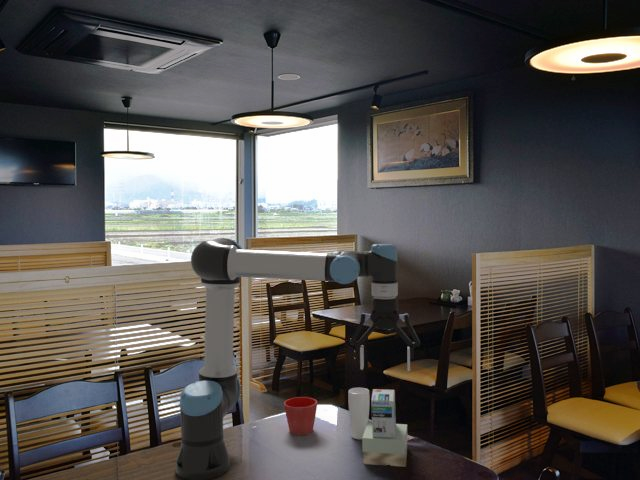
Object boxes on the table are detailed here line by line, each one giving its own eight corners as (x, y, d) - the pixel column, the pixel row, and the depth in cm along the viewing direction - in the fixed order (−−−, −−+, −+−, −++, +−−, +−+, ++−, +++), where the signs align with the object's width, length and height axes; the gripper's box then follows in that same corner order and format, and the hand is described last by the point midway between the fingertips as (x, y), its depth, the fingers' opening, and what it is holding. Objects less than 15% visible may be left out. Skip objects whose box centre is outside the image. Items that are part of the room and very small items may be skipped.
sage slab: (362, 451, 157) (362, 437, 156) (367, 434, 168) (367, 421, 168) (404, 454, 154) (404, 440, 154) (407, 437, 166) (407, 424, 166)
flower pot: (287, 424, 188) (287, 396, 187) (319, 425, 186) (319, 396, 186) (281, 436, 177) (280, 407, 177) (315, 437, 176) (314, 408, 175)
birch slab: (363, 465, 157) (363, 451, 157) (367, 447, 169) (367, 434, 168) (405, 468, 155) (405, 454, 154) (407, 449, 166) (407, 436, 166)
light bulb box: (395, 438, 155) (394, 401, 155) (371, 437, 156) (370, 400, 156) (396, 424, 166) (395, 388, 165) (373, 423, 167) (372, 388, 166)
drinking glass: (373, 435, 177) (373, 389, 176) (363, 442, 171) (363, 395, 170) (355, 431, 180) (354, 386, 180) (345, 438, 175) (344, 392, 174)
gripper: (340, 298, 158) (341, 371, 159) (428, 299, 154) (428, 374, 155) (343, 294, 165) (344, 364, 166) (428, 295, 161) (428, 367, 162)
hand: (385, 369), depth 160 cm, fingers open, 13 cm apart
